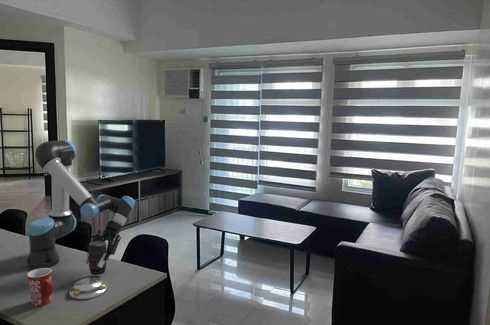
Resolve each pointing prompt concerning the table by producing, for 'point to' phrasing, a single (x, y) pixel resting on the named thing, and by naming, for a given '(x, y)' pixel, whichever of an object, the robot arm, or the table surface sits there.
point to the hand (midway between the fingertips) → (92, 264)
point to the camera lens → (96, 257)
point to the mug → (40, 286)
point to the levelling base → (87, 293)
